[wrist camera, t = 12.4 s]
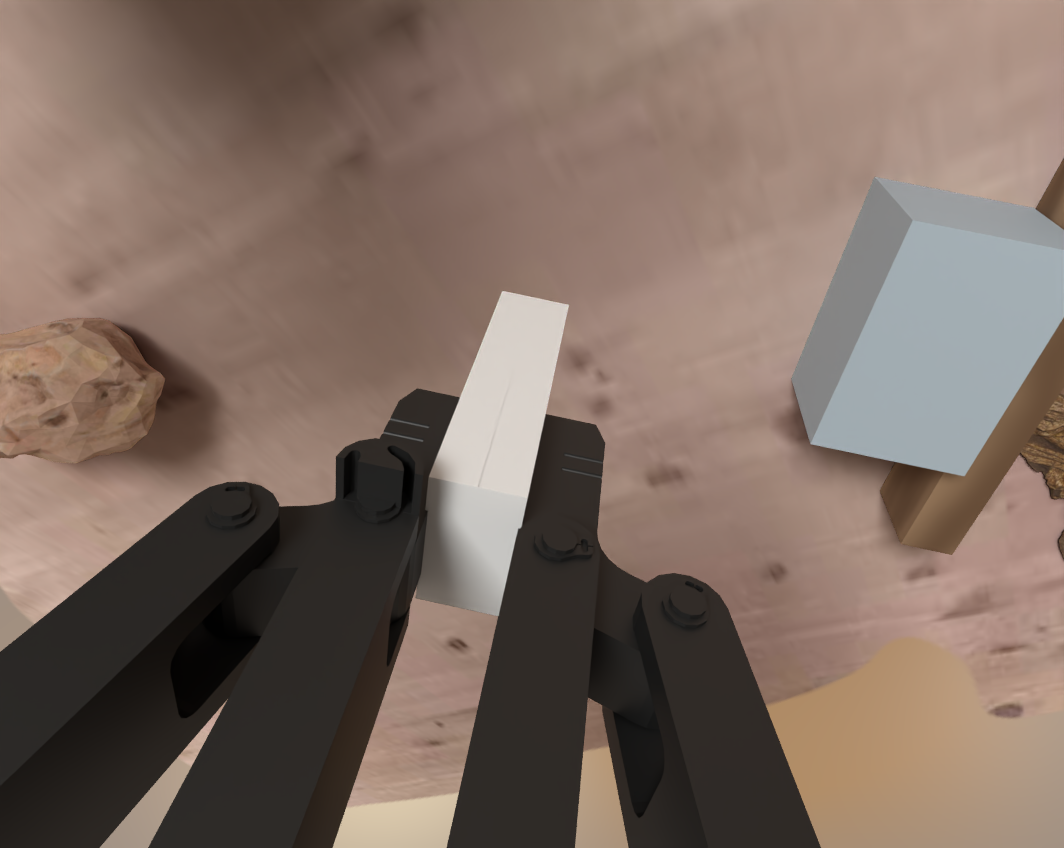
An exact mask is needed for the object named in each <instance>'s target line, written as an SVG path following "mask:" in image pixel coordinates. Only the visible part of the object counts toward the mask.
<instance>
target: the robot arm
mask: <svg viewBox="0 0 1064 848" xmlns="http://www.w3.org/2000/svg"><path fill="white" fill-rule="evenodd" d="M568 307H569V305H567V304H562V303H558V302H553V301H548V300H543V299H539V298H534V297H529V296H525V295H520V294H515V293H510V292H506V291H502V293H501V296H500V298H499V301H498V303H497V306H496V308H495V311H494V313H493V316H492V318H491V321H490V324H489V326H488V329H487V331H486V334H485V336H484V339H483V341H482V344H481V346H480V349H479V351H478V354H477V356H476V359H475V361H474V364H473V366H472V369H471V371H470V374H469V377H468V379H467V382H466V384H465V387H464V389H463V392H462V394H461V397H460V398H459V397H455V396H450V395H445V394H441V393H436V392H431V391H427V390H422V389H416V390H414V391H413V392H411V393H410V394H409V395H407V396H406V397H404V398H403V399H401V400H400V401H399V402H398V404H397V406H396V408H395V410H394V412H393V414H392V416H391V419H390V420H389V422H388V424H387V426H386V427H385V429H384V433H383V434H382V435H381V437H380V439H376V438H375V439H368V440H362V441H358V442H356V443H353V444H351V445H349V446H347V447H345V448H344V449H343V450H342V451H341V452H340V453H339V454H338V455H337V456H336V498H335V500H334V501H331V502H327V503H324V504H320V505H311V506H285V507H279V503H278V501H277V500H276V498H275V496H274V494H273V493H271V492H270V491H268V490H267V489H265V488H264V487H262V486H260V485H256V484H252V483H248V482H227V483H223V484H219V485H215V486H211V487H209V488H207V489H205V490H204V491H202V492H200V493H198V494H197V495H195V496H194V497H193V498H191V499H190V500H189V501H188V502H186V503H185V504H184V505H183V506H181V507H180V508H179V509H178V510H176V511H175V512H174V513H173V514H171V515H170V516H169V517H168V518H166V519H165V520H164V521H163V522H161V523H160V524H159V525H158V526H156V527H155V528H154V529H153V530H151V531H150V532H149V533H148V534H146V535H145V536H144V537H143V538H141V539H140V540H139V541H138V542H136V543H135V544H134V545H133V546H132V547H130V548H129V549H128V550H127V551H125V552H124V553H123V554H122V555H120V556H119V557H118V558H117V559H115V560H114V561H113V562H112V563H110V564H109V565H108V566H107V567H105V568H104V569H103V570H102V571H100V572H99V573H98V574H97V575H95V576H94V577H93V578H92V579H90V580H89V581H88V582H87V583H85V584H84V585H83V586H82V587H80V588H79V589H78V590H77V591H75V592H74V593H73V594H72V595H70V596H69V597H68V598H67V599H66V600H64V601H63V602H62V603H61V604H59V605H58V606H57V607H56V608H54V609H53V610H52V611H51V612H49V613H48V614H47V615H46V616H44V617H43V618H42V619H41V620H39V621H38V622H37V623H36V624H34V625H33V626H32V627H31V628H29V629H28V630H27V631H26V632H24V633H23V634H22V635H21V636H19V637H18V638H17V639H16V640H15V641H13V642H12V643H11V644H9V645H8V646H7V647H6V648H5V649H3V650H2V651H1V652H0V848H100V846H101V845H102V844H103V843H104V842H105V841H106V839H107V838H108V837H109V836H110V835H111V833H112V832H113V831H114V830H115V829H116V828H117V827H118V826H119V824H120V823H121V822H122V821H123V820H124V819H125V817H126V816H127V815H128V814H129V813H130V812H131V810H132V809H133V808H134V807H135V806H136V805H137V803H138V802H139V801H140V800H141V799H142V798H143V797H144V795H145V794H146V793H147V792H148V790H150V788H151V787H152V786H153V785H154V784H155V783H156V781H157V780H158V779H159V778H160V777H161V776H162V774H163V773H164V772H165V771H166V770H167V769H168V767H169V766H170V765H171V764H172V763H173V762H174V761H175V759H176V758H177V757H178V756H179V755H180V754H181V752H182V751H183V750H184V749H185V748H186V747H187V745H188V744H189V743H190V742H191V741H192V740H193V738H194V737H195V736H196V735H197V734H198V733H199V732H200V730H201V729H202V728H203V727H204V726H205V725H206V723H207V722H208V721H209V720H210V719H211V718H212V716H213V715H214V714H215V713H216V712H217V711H218V709H219V708H220V707H221V706H222V705H223V704H224V702H225V701H226V700H227V699H228V700H227V702H226V704H225V705H224V707H223V709H222V711H221V713H220V715H219V717H218V719H217V720H216V722H215V724H214V726H213V728H212V730H211V732H210V733H209V735H208V737H207V739H206V741H205V743H204V745H203V747H202V748H201V750H200V752H199V754H198V756H197V758H196V760H195V761H194V763H193V765H192V767H191V769H190V771H189V773H188V775H187V777H186V778H185V780H184V782H183V784H182V786H181V788H180V789H179V791H178V793H177V795H176V797H175V799H174V801H173V803H172V805H171V806H170V808H169V810H168V812H167V814H166V816H165V817H164V819H163V821H162V823H161V825H160V827H159V829H158V831H157V832H156V834H155V836H154V838H153V840H152V842H151V844H150V846H149V847H148V848H332V847H333V844H334V841H335V838H336V836H337V833H338V830H339V826H340V823H341V821H342V818H343V815H344V812H345V809H346V806H347V803H348V800H349V797H350V794H351V791H352V788H353V786H354V783H355V780H356V777H357V774H358V771H359V768H360V765H361V762H362V759H363V756H364V753H365V750H366V747H367V744H368V741H369V738H370V735H371V733H372V730H373V727H374V724H375V721H376V718H377V715H378V712H379V709H380V706H381V703H382V700H383V697H384V694H385V691H386V688H387V685H388V682H389V679H390V677H391V674H392V671H393V668H394V665H395V662H396V659H397V656H398V653H399V650H400V647H401V644H402V641H403V638H404V635H405V632H406V629H407V626H408V620H409V610H410V604H411V601H412V598H413V595H414V592H415V589H416V587H417V592H416V598H417V599H421V600H426V601H431V602H435V603H440V604H444V605H449V606H454V607H458V608H463V609H467V610H472V611H476V612H481V613H486V614H490V615H495V616H498V620H497V625H496V629H495V634H494V638H493V643H492V647H491V652H490V656H489V661H488V665H487V670H486V674H485V679H484V683H483V688H482V692H481V696H480V701H479V705H478V710H477V714H476V719H475V723H474V728H473V732H472V737H471V741H470V746H469V750H468V755H467V759H466V764H465V768H464V773H463V777H462V782H461V786H460V791H459V795H458V800H457V804H456V808H455V813H454V818H453V822H452V826H451V831H450V835H449V840H448V844H447V848H575V839H576V827H577V816H578V804H579V792H580V781H581V769H582V758H583V746H584V735H585V723H586V712H587V700H588V697H589V698H590V699H592V700H594V701H596V702H598V703H599V704H601V705H602V712H603V717H604V722H605V727H606V732H607V738H608V743H609V748H610V753H611V758H612V763H613V769H614V774H615V779H616V784H617V789H618V795H619V800H620V805H621V810H622V815H623V820H624V825H625V831H626V836H627V841H628V846H629V848H821V847H820V844H819V842H818V839H817V837H816V834H815V831H814V829H813V826H812V824H811V821H810V819H809V816H808V814H807V811H806V809H805V806H804V803H803V801H802V798H801V795H800V793H799V790H798V788H797V785H796V783H795V780H794V777H793V775H792V773H791V770H790V767H789V765H788V762H787V759H786V757H785V754H784V752H783V749H782V747H781V744H780V741H779V739H778V737H777V734H776V731H775V729H774V726H773V723H772V721H771V719H770V716H769V713H768V711H767V708H766V705H765V703H764V700H763V698H762V695H761V693H760V690H759V687H758V685H757V682H756V680H755V677H754V675H753V672H752V669H751V667H750V664H749V662H748V659H747V657H746V654H745V651H744V649H743V646H742V644H741V641H740V639H739V636H738V633H737V631H736V628H735V626H734V623H733V621H732V618H731V615H730V613H729V610H728V608H727V607H726V605H725V603H724V602H723V600H722V598H721V597H720V595H719V594H718V593H716V592H715V591H714V590H713V589H712V588H711V587H709V586H708V585H707V584H706V583H703V582H701V581H699V580H697V579H695V578H693V577H691V576H686V575H681V574H676V573H672V574H664V575H659V576H657V577H655V578H654V579H652V580H650V581H649V582H647V583H646V582H644V581H642V580H640V579H638V578H636V577H634V576H632V575H630V574H628V573H627V572H625V571H623V570H622V569H620V568H618V567H617V566H616V565H615V564H614V563H613V562H611V561H610V560H609V559H608V558H607V556H606V555H605V553H604V552H603V551H602V549H601V547H600V544H599V542H598V536H597V527H598V516H599V505H600V494H601V483H602V479H601V478H602V472H603V460H604V449H605V442H604V440H603V438H602V436H601V434H600V432H599V430H598V428H597V426H596V425H594V424H589V423H585V422H580V421H575V420H571V419H566V418H561V417H557V416H552V415H547V414H546V410H547V405H548V400H549V396H550V391H551V386H552V382H553V377H554V372H555V368H556V363H557V358H558V354H559V349H560V344H561V340H562V335H563V330H564V326H565V321H566V316H567V311H568Z"/></svg>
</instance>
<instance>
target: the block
mask: <svg viewBox="0 0 1064 848" xmlns="http://www.w3.org/2000/svg"><path fill="white" fill-rule="evenodd" d="M1063 318H1064V230H1063V229H1062V228H1061V227H1059V226H1058V225H1056V224H1055V223H1054V222H1052V221H1051V220H1050V219H1048V218H1047V217H1046V216H1044V215H1043V214H1041V213H1040V212H1039V211H1037V210H1036V209H1035V208H1032V207H1026V206H1021V205H1016V204H1011V203H1006V202H1001V201H996V200H991V199H986V198H980V197H975V196H970V195H965V194H960V193H955V192H950V191H945V190H940V189H934V188H929V187H924V186H919V185H914V184H909V183H904V182H899V181H893V180H888V179H883V178H878V177H874V179H873V182H872V184H871V187H870V189H869V192H868V194H867V196H866V199H865V201H864V204H863V206H862V209H861V211H860V213H859V216H858V218H857V221H856V223H855V226H854V228H853V230H852V233H851V235H850V238H849V240H848V243H847V245H846V247H845V250H844V252H843V255H842V257H841V260H840V262H839V264H838V267H837V269H836V272H835V274H834V276H833V279H832V281H831V284H830V286H829V289H828V291H827V293H826V296H825V298H824V301H823V303H822V306H821V308H820V310H819V313H818V315H817V318H816V320H815V323H814V325H813V327H812V330H811V332H810V335H809V337H808V340H807V342H806V344H805V347H804V349H803V352H802V354H801V356H800V359H799V361H798V364H797V366H796V369H795V371H794V373H793V376H792V378H791V379H792V383H793V386H794V390H795V393H796V397H797V400H798V403H799V407H800V410H801V414H802V417H803V421H804V424H805V427H806V431H807V434H808V438H809V441H810V444H812V445H817V446H822V447H827V448H831V449H836V450H841V451H846V452H851V453H855V454H860V455H865V456H870V457H874V458H879V459H884V460H889V461H894V462H898V463H903V464H908V465H913V466H918V467H922V468H927V469H932V470H937V471H941V472H946V473H951V474H956V475H961V476H965V475H966V473H967V471H968V470H969V468H970V467H971V465H972V463H973V462H974V460H975V459H976V457H977V455H978V454H979V452H980V451H981V449H982V447H983V446H984V444H985V443H986V441H987V439H988V438H989V436H990V435H991V433H992V431H993V430H994V428H995V427H996V425H997V423H998V422H999V420H1000V419H1001V417H1002V415H1003V414H1004V412H1005V411H1006V409H1007V407H1008V406H1009V404H1010V403H1011V401H1012V399H1013V398H1014V396H1015V395H1016V393H1017V391H1018V390H1019V388H1020V387H1021V385H1022V383H1023V382H1024V380H1025V379H1026V377H1027V375H1028V374H1029V372H1030V371H1031V369H1032V367H1033V366H1034V364H1035V363H1036V361H1037V359H1038V358H1039V356H1040V355H1041V353H1042V351H1043V350H1044V348H1045V347H1046V345H1047V343H1048V342H1049V340H1050V339H1051V337H1052V335H1053V334H1054V332H1055V331H1056V329H1057V327H1058V326H1059V324H1060V322H1061V321H1062V319H1063Z"/></svg>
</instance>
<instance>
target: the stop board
mask: <svg viewBox="0 0 1064 848" xmlns="http://www.w3.org/2000/svg"><path fill="white" fill-rule="evenodd" d="M1036 210H1037V211H1039V212H1040V213H1041V214H1043V215H1044V216H1046V217H1047V218H1048V219H1050V220H1051V221H1052V222H1054V223H1055V224H1056V225H1058V226H1059V227H1061V228H1062V229H1063V230H1064V159H1063V161H1062V162H1061V164H1060V166H1059V168H1058V170H1057V171H1056V173H1055V175H1054V177H1053V179H1052V180H1051V182H1050V184H1049V186H1048V188H1047V190H1046V191H1045V193H1044V195H1043V197H1042V199H1041V200H1040V202H1039V204H1038V206H1037V208H1036ZM1063 388H1064V318H1063V319H1062V321H1061V322H1060V324H1059V326H1058V327H1057V329H1056V331H1055V332H1054V334H1053V335H1052V337H1051V339H1050V340H1049V342H1048V343H1047V345H1046V347H1045V348H1044V350H1043V351H1042V353H1041V355H1040V356H1039V358H1038V359H1037V361H1036V363H1035V364H1034V366H1033V367H1032V369H1031V371H1030V372H1029V374H1028V375H1027V377H1026V379H1025V380H1024V382H1023V383H1022V385H1021V387H1020V388H1019V390H1018V391H1017V393H1016V395H1015V396H1014V398H1013V399H1012V401H1011V403H1010V404H1009V406H1008V407H1007V409H1006V411H1005V412H1004V414H1003V415H1002V417H1001V419H1000V420H999V422H998V423H997V425H996V427H995V428H994V430H993V431H992V433H991V435H990V436H989V438H988V439H987V441H986V443H985V444H984V446H983V447H982V449H981V451H980V452H979V454H978V455H977V457H976V459H975V460H974V462H973V463H972V465H971V467H970V468H969V470H968V471H967V473H966V475H965V476H961V475H956V474H951V473H946V472H941V471H937V470H932V469H927V468H922V467H918V466H913V465H908V464H903V463H898V462H895V464H894V466H893V468H892V470H891V471H890V473H889V475H888V477H887V479H886V480H885V482H884V484H883V486H882V488H881V489H880V492H881V495H882V498H883V500H884V503H885V505H886V508H887V510H888V513H889V515H890V518H891V520H892V523H893V525H894V528H895V530H896V533H897V536H898V538H899V541H900V543H901V544H904V545H908V546H913V547H918V548H922V549H927V550H932V551H936V552H941V553H945V554H950V555H952V554H953V553H954V551H955V550H956V548H957V547H958V545H959V544H960V542H961V541H962V539H963V538H964V536H965V535H966V533H967V532H968V530H969V529H970V527H971V526H972V524H973V523H974V521H975V520H976V518H977V517H978V515H979V514H980V512H981V511H982V509H983V508H984V506H985V505H986V503H987V502H988V500H989V499H990V497H991V496H992V494H993V493H994V491H995V490H996V488H997V487H998V485H999V484H1000V482H1001V481H1002V479H1003V478H1004V476H1005V475H1006V473H1007V472H1008V470H1009V469H1010V467H1011V466H1012V464H1013V463H1014V461H1015V460H1016V458H1017V457H1018V455H1019V454H1020V452H1021V451H1022V449H1023V448H1024V446H1025V445H1026V443H1027V442H1028V440H1029V439H1030V437H1031V436H1032V434H1033V433H1034V431H1035V430H1036V428H1037V427H1038V425H1039V424H1040V422H1041V421H1042V419H1043V418H1044V416H1045V415H1046V414H1047V412H1048V411H1049V409H1050V408H1051V406H1052V405H1053V403H1054V402H1055V400H1056V399H1057V397H1058V396H1059V394H1060V393H1061V391H1062V390H1063Z"/></svg>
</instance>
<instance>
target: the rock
mask: <svg viewBox="0 0 1064 848" xmlns="http://www.w3.org/2000/svg"><path fill="white" fill-rule="evenodd" d="M164 382H165V378H164V377H163V376H162V374H161V373H160V372H158V371H156V370H155V369H154V368H152V367H151V366H149V365H148V364H147V363H146V362H145V360H144V358H143V357H142V355H141V353H140V352H139V350H138V348H137V346H136V345H135V343H134V341H133V340H132V338H131V337H130V336H129V335H127V334H126V333H125V332H123V331H122V330H121V329H119V328H118V327H117V326H115V325H114V324H113V323H111V322H110V321H108V320H105V319H101V318H77V319H64V320H59V321H55V322H51V323H47V324H43V325H39V326H36V327H32V328H28V329H25V330H21V331H18V332H14V333H10V334H1V335H0V458H14V457H16V456H18V455H21V454H27V455H32V456H36V457H39V458H43V459H46V460H49V461H53V462H61V463H79V462H82V461H85V460H87V459H90V458H93V457H96V456H99V455H109V454H112V453H114V452H123V451H126V450H129V449H131V448H132V447H133V446H134V445H135V444H136V443H137V442H138V441H139V440H140V439H142V438H143V437H144V436H146V435H147V434H148V432H149V430H150V428H151V426H152V423H153V421H154V417H155V410H156V403H157V400H158V398H159V397H160V396H161V392H162V389H163V385H164Z"/></svg>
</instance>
